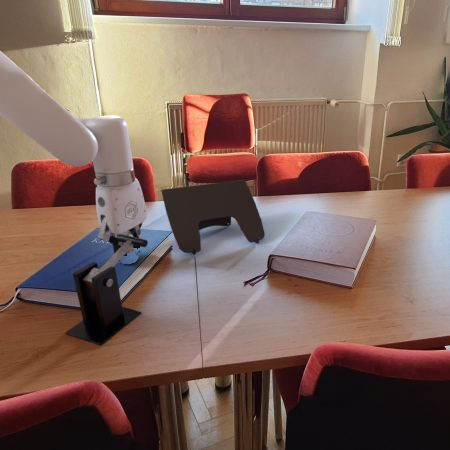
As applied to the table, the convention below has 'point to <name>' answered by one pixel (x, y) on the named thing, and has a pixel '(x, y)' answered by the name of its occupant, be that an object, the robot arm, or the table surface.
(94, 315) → the bracket
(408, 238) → the table surface
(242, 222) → the laptop tray
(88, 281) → the lever
